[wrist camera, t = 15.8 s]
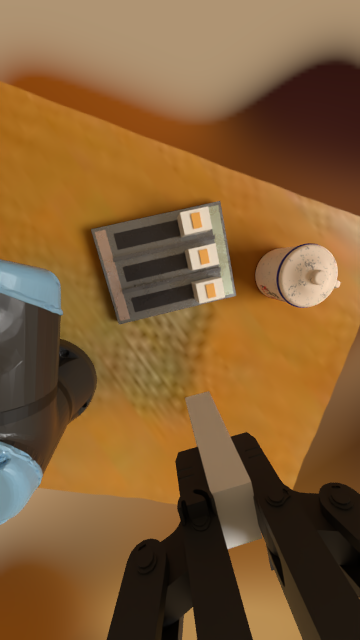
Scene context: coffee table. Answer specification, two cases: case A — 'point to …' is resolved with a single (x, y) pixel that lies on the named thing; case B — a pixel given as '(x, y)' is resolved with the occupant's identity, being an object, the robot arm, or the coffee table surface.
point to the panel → (158, 263)
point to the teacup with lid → (298, 274)
